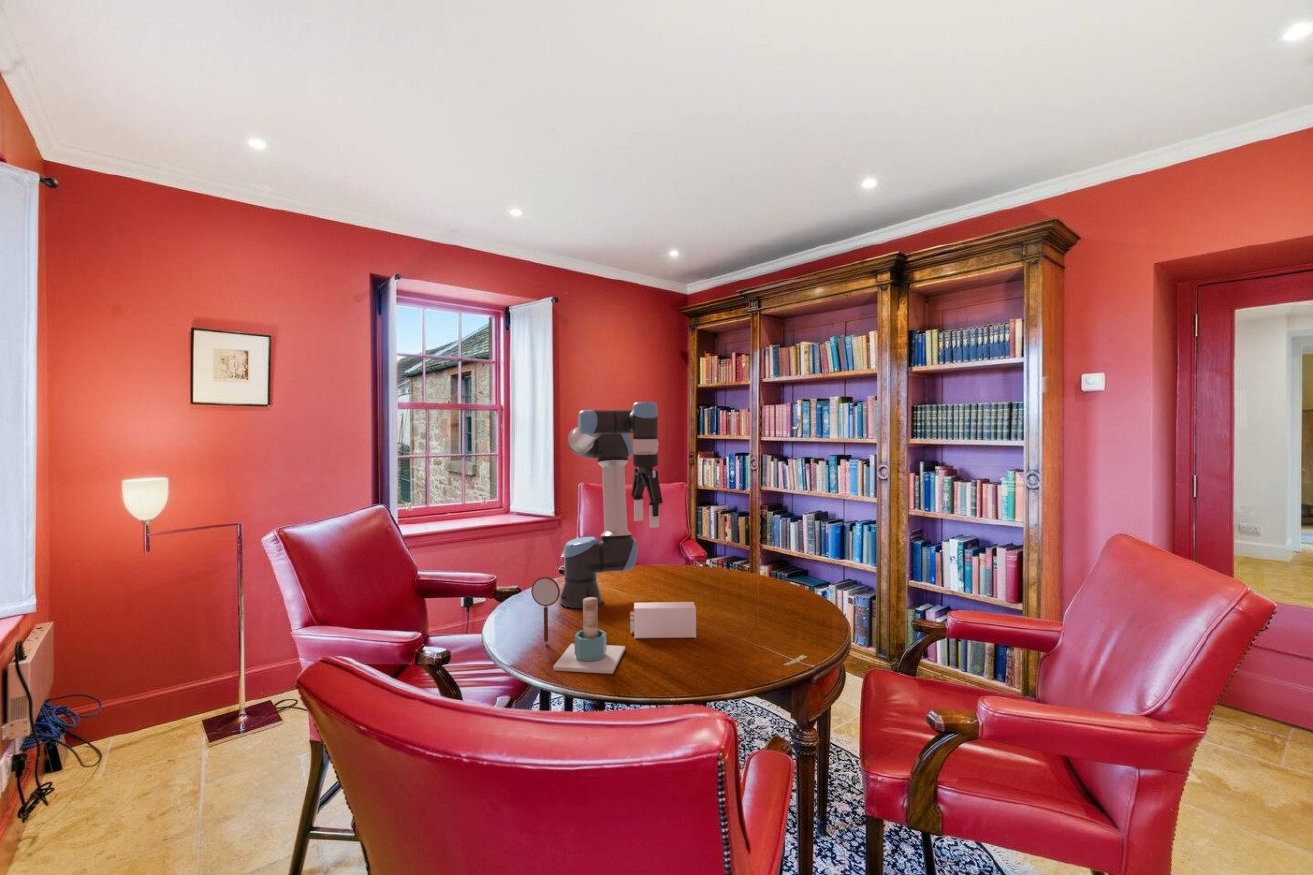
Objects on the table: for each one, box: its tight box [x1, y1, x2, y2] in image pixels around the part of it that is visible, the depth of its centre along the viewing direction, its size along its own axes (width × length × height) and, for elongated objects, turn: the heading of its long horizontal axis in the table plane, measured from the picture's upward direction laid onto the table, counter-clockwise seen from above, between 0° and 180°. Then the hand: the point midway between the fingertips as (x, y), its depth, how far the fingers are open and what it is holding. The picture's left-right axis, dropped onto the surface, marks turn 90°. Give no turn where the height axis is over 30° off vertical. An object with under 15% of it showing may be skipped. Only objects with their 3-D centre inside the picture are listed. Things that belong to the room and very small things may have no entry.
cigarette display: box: [629, 601, 697, 640], centre depth 170 cm, size 20×6×9 cm, turn 91°
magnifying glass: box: [531, 576, 561, 645], centre depth 164 cm, size 9×2×20 cm, turn 82°
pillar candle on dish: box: [582, 597, 599, 639], centre depth 152 cm, size 5×5×15 cm
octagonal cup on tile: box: [552, 628, 626, 675], centre depth 152 cm, size 16×16×7 cm
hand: (646, 524), depth 167 cm, fingers open, 13 cm apart
